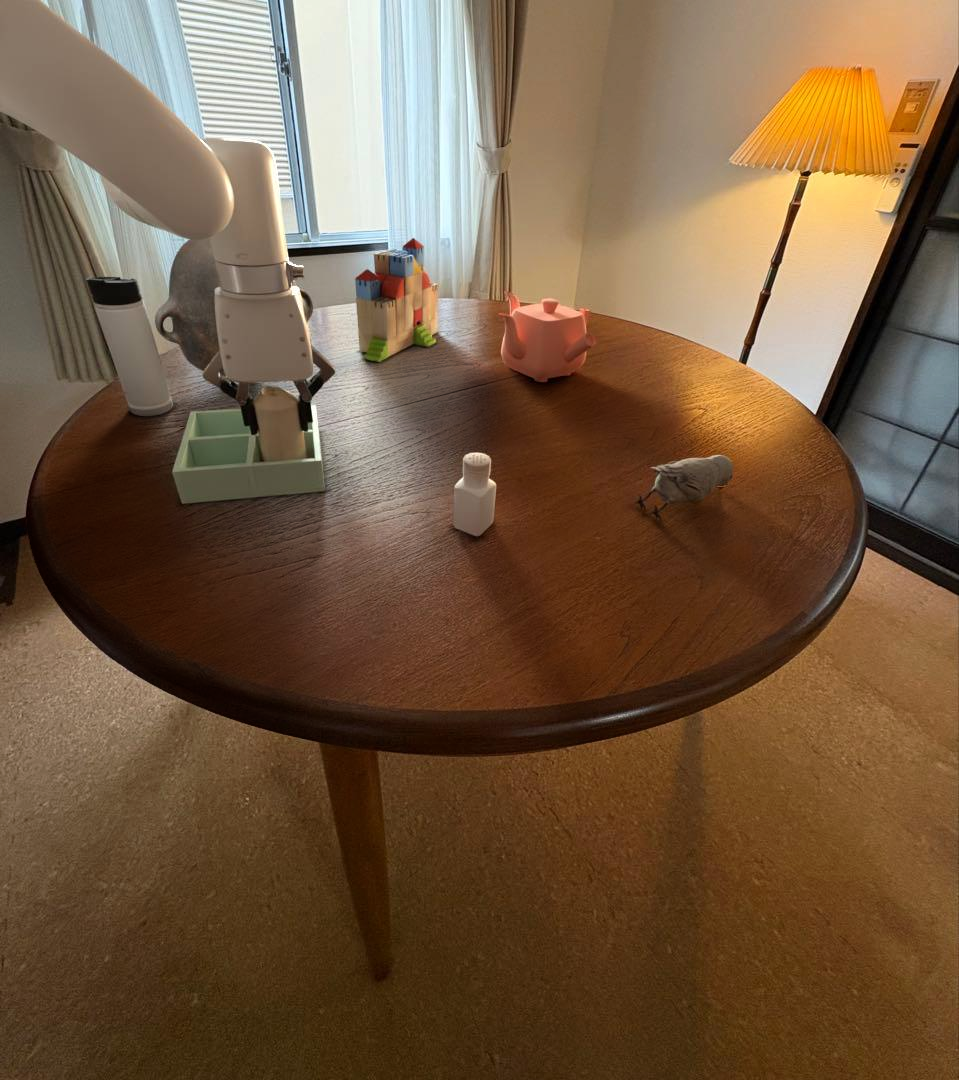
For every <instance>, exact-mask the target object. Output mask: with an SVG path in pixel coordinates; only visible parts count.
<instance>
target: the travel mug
mask: <svg viewBox="0 0 959 1080" xmlns="http://www.w3.org/2000/svg"><path fill="white" fill-rule="evenodd" d="M85 281H86V284H87V287H88V290H89V293H90V295H91V298H92V302H93V305H94V308H95V312H96V314H97V317H98V321H99V323H100V327H101V330H102V331H103V335H104V338H105V341H106V344H107V347H108V350H109V353H110V356H111V359H112V361H113V365H114V367H115V370H116V373H117V377H118V380H119V383H120V386H121V388H122V391H123V394H124V397H125V399H126V402H127V406H128V409H129V412H130V413H132V414H133V415H135V416H140V417H141V416H142V417H153V416H159V415H162V414H163V415H164V414H165V413H167V412H169V411H171V410H172V408H173V407H174V403H173V399H172V396H171V392H170V388H169V384H168V382H167V378H166V374H165V371H164V368H163V364H162V361H161V357H160V354H159V350H158V347H157V343H156V341H155V336H154V333H153V330H152V326H151V323H150V319H149V316H148V312H147V308H146V305H145V303H144V299H143V296H142V293H141V289H140V285H139V283H138V279H136V278H130V279H127V278H121V277H120V276H93V277H87V278H86V280H85Z"/></svg>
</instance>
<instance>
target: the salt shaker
mask: <svg viewBox="0 0 959 1080" xmlns="http://www.w3.org/2000/svg"><path fill="white" fill-rule="evenodd" d="M491 468H492V459H491V457H490V455H487V454H486V453H484V452H483V453H482V452H469V453H467V454H465V455H464V457H463V458H462V475H463V476H462V478H460V479H459V480H458V481H457V483H456V484H455V485H454V488H453V490H454V491H453V510H452V511H453V512H452V526H453V527H454V529H457V530H459V531H462V532H464V533H466V534H468V535H471V536H474V537H479V536H481V535H483V533H484V532H485V531H487V529H488V528H489V527H490V526H492V524H493V523H494V518H495V517H494V515H495V504H496V495H497V494H496V493H497V484H496V482H495V481H494V480H493V479H491V478H490V475H491V470H492V469H491Z"/></svg>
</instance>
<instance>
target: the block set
mask: <svg viewBox="0 0 959 1080" xmlns="http://www.w3.org/2000/svg"><path fill="white" fill-rule="evenodd" d="M373 263H374V264H373V267H374V272H372V270H370V269H369V268H366V269H365V270H363V271H362V272H361V273H360V274H359V275H357V276H356V277H355V278H354V279H355V280H354V281H355V282H354V283H355V302H356V303H355V305H356V317H357V333H358V347H359V351H360V352H364V353H365V354H364V355H363V357H364V360H367V361H373V362H378V363H379V362H382V361H384V360H386V359H388V358H389V357H392V356H393V355H395V354H397V353H399V352H401V351H402V350H405V349H406V348H408V347H411V346H413V345H417V346H422V347H426V348H428V347H430V346H432V345H435V344H436V338H433V335H435V334H437V333H438V306H439V284H438V283H433V282H431V280H430V277H429V275H428V273H427V272H425V246H424V245H423V244H422V243H420V241H418V240H417V239H416V238H414V237H412V238H411V239H410V240H408V241H407V242H406V243H405V244H403V246H402V249H397V248H391V249H388V250H385V251H383V250H382V251H379V252H374V253H373Z"/></svg>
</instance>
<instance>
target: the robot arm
mask: <svg viewBox="0 0 959 1080" xmlns="http://www.w3.org/2000/svg"><path fill="white" fill-rule="evenodd" d="M0 112H1V113H3V114H4V115H6V116H8V117H11V118H13V119H15V120H16V121H18V122H20V123H22V124H24V125H25V126H28V127H29V128H31V129H33V130H34V131H36V132H37V133H39V134H41V135H42V136H44V137H46V138H47V139H49V140H50V141H52V142H53V143H54V144H56V145H58V146H59V147H60V148H62V149H63V150H65V151H67V152H68V153H70V154H71V155H72V156H74V157H75V158H77V159H78V160H80V161H81V162H82V163H84V164H85V165H87V166H88V167H89V168H91V169H92V170H93V171H95V172H96V173H97V174H98V175H99V178H100V181H101V184H102V187H103V189H104V190H105V192H106V194H107V195H108V197H109V198H110V200H111V201H112V203H114V204H115V206H116V207H117V208H118V209H120V210H121V211H122V212H123V213H125V214H126V215H128V216H129V217H131V218H133V219H134V220H135V221H137V222H140V223H142V224H145V225H147V226H150V227H153V228H156V229H158V230H161V231H163V232H164V231H165V232H167V233H170V234H172V235H175V236H178V237H180V238H183V239H187V240H190V239H191V240H203V239H208V238H210V241H211V246H212V251H213V256H214V260H215V265H216V270H217V275H218V280H219V285H220V287H218V288H216V289H215V316H216V326H217V334H218V341H219V347H220V349H219V351H218V352H217V353H216V355H215V356H214V357H213V359H212V360H211V362H210V363H209V364H208V366H207V367H206V368H205V370H204V371H202V372H203V373H202V378H203V379H204V380H205V381H206V382H208V383H210V384H211V385H213V386H215V387H216V388H219V390H220V391H221V392H223V393H224V394H225V395H227V396H228V397H230V398H231V399H233V400H234V401H235V403H236V404H237V405H238V406H239V407H240V408H239V409H241V412H242V417H243V422H244V426H250V431H251V435H256V434H257V433H258V429H257V424H256V419H255V413H254V408H253V400H254V397H252V395H251V393H249V392H250V386H251V384H252V383H276V382H277V383H278V382H293V384H294V386H295V388H296V390H297V392H298V394H299V395H298V396H297V397H298V399H299V410H300V417H301V424H302V430H303V431H304V432H308V423H310V422H313V417H312V409H311V405H312V403H311V401H312V400H313V398H314V397H315V396H316V395H317V393H318V392H320V390H321V389H322V388H323V387H324V385H325V383H327V382H328V381H329V380H330V379H331V378H332V377H333V376H334V375H335V374H336V369H335V366H334V364H332V363H331V362H330V361H329V360H328V359H327V358H326V357H325V356H324V355H323V354H322V353H321V352H320V351H318V350H317V349H316V348H315V346H313V345H312V340H311V333H310V327H309V320H308V321H307V316H306V311H305V307H306V306H305V302H304V299H303V298H302V296H301V293H300V291H299V288H300V287H298V286H297V287H298V288H297V287H295V286H292V283H294V281H295V282H298V280H305V273H304V266H303V265H296V264H293V262H292V261H290V260H289V251H288V246H287V237H286V230H285V229H286V228H285V222H284V214H283V206H282V199H281V192H280V184H279V176H278V169H277V163H276V159H275V156H274V153H273V151H272V150H271V148H270V147H269V146H267V145H266V144H265V143H262V142H261V141H257V140H251V139H242V138H226V137H224V138H223V137H209V138H202V139H201V138H200V137H199V136H198V135H197V134H196V133H195V132H194V131H193V130H192V129H191V128H190V127H189V126H188V125H186V123H185V122H184V121H183V120H181V119H180V117H178V116H177V115H176V114H175V113H174V112H173V111H172V110H171V109H170V108H169V107H168V106H167V105H166V104H165V103H164V102H163V101H162V100H161V99H160V98H159V97H158V96H156V94H155V93H153V91H151V90H150V89H149V88H148V87H147V86H146V85H145V84H144V83H143V82H141V81H140V80H139V78H137V77H136V76H135V75H134V74H133V73H132V72H130V71H129V70H128V69H127V68H125V66H123V65H122V64H120V63H119V61H117V60H116V59H114V58H113V57H112V56H111V55H109V54H108V53H107V52H106V51H105V50H103V49H102V48H101V47H99V46H98V45H97V44H96V43H95V42H93V41H92V40H91V39H89V38H88V37H87V36H85V35H84V34H83V33H81V31H79V30H78V29H76V28H75V27H74V26H73V25H71V24H70V23H69V22H68V21H66V20H65V19H63V18H62V17H61V16H60V15H59V14H58V13H56V12H55V11H54V10H53V9H51V7H50V6H48V5H47V4H45V2H43V1H42V0H0ZM314 365H315V366H316V367H317V368H318V369H319V371H317V373H316V374H314ZM222 367H223V369H224V372H225V375H226V376H223V375H221V374H220V372H219V371H220V370H221V369H222ZM313 374H314V375H313ZM309 378H310V379H309ZM308 379H309V380H308Z"/></svg>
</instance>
